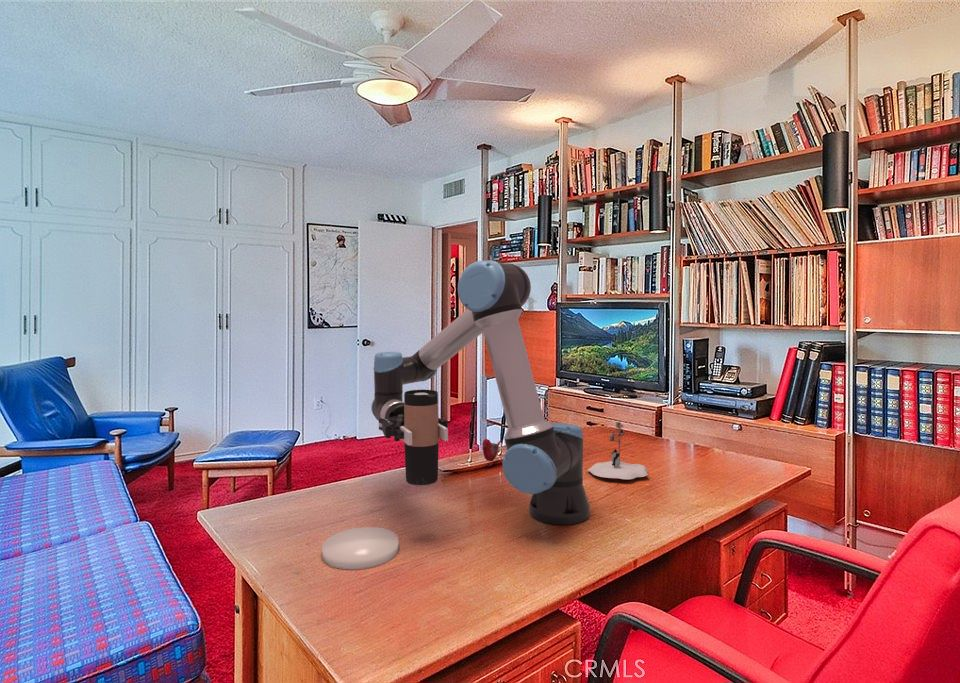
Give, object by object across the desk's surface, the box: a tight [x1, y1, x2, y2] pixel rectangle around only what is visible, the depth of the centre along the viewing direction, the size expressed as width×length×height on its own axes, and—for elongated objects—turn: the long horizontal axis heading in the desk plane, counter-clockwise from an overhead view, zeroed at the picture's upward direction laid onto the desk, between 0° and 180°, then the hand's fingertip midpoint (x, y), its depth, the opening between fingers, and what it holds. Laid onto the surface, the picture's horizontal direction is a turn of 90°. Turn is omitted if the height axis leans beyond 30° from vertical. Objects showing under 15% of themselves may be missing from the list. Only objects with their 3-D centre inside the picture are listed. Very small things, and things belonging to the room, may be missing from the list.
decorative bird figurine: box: [482, 438, 502, 467], centre depth 177 cm, size 3×18×10 cm, turn 158°
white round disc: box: [321, 526, 400, 571], centre depth 114 cm, size 16×16×2 cm
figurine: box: [587, 421, 649, 480], centre depth 166 cm, size 20×18×16 cm
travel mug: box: [403, 389, 440, 486], centre depth 118 cm, size 8×8×20 cm
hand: (428, 436), depth 114 cm, fingers closed on travel mug, 7 cm apart
